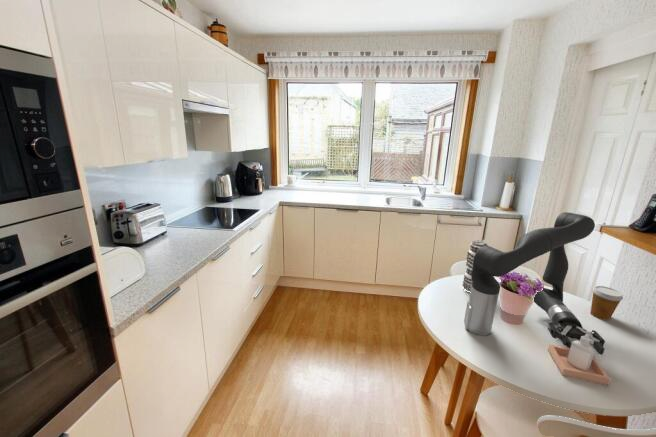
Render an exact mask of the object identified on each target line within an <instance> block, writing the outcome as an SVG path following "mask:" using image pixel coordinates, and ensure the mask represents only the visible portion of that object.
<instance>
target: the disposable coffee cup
mask: <svg viewBox="0 0 656 437" xmlns="http://www.w3.org/2000/svg"><path fill="white" fill-rule="evenodd" d="M623 299H624V297H623V293H622V292H621V291H619V290H617V289H614V288H612V287H609V286H604V285H595V286H594V288H592V298H591V306H590V315H591V316H593V317H594V318H597V319H600V320H603V321H611V318H612V316H613V314H614V313H615V311H616V309H617V308H618V306H619V304H620V302H621V301H622V300H623Z"/></svg>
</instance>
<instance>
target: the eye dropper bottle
mask: <svg viewBox="0 0 656 437" xmlns="http://www.w3.org/2000/svg"><path fill="white" fill-rule="evenodd" d="M590 342H592V340H591V339H590V338H589V335H588V334H585V336H581V338H580V340H573V341H571V343H572V344H571V348H570V351H569V354H568V357H567V361H568V362H569V363H570V364H571V365H573V366H574V367H576V368H578V369H580V370H583V371H587V370H589V368H590V365H591V362H592V359H593V357H594V354H595V351H596V350H595V349H594V347H593V346H592V345H590Z"/></svg>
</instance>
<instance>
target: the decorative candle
mask: <svg viewBox="0 0 656 437" xmlns="http://www.w3.org/2000/svg"><path fill="white" fill-rule="evenodd" d="M482 246H489V245H488V243H487V242H486V241H483V240H474V241H472V242H470V247H469V250H468V251H467V254H466V262H465V263H466V264H465V267H466V269H465V272H464V275H463V276H464V277H463V281H462V287H464V289H466V290H467V291H470V292H471V288H472V278H471V276H472V268H473V260H474V256H475V254H476V252H477V250H478V249H479V248H480V247H482Z"/></svg>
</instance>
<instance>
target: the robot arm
mask: <svg viewBox="0 0 656 437" xmlns="http://www.w3.org/2000/svg"><path fill="white" fill-rule="evenodd" d="M595 227H596V223H595V221H594V219H593V218H591V217H590V216H587V215H584V214H580V213H573V212H568V211H566V212H565V211H564V212H561V213H560V214H559V215H557V217H556V219H555V222H554V224H553V227H544V228H543V227H542V228H538V229H534V230H532V231H530V232H527V233H525V234H522V235H521V236H520V237H519V238H518V240H517V242H516V243H517V244H516V246H515V248H514V249H513V250H512V249H511V250H509V251H505V252H504V251H501V250H499V249H497V248H494V247H492V246H490V245H488V246H482V247H480V248H479V249H478V250H477V252H476V254H475V256H474V260H473V268H472V276H471V278H472V288H471V293H469V300H467V302H466V309H465V312H464V318H463V319H464V320H463V322H464V323H463V324H464V328H465V330H466V331H470V332H471V333H472V334H476V335H479V336H488V335H490V334H491V332H492V328H493V324H494V318H495V314H496V310H497V309H496V308H497V304H498V301H499V297H500V291H501V284H500V283H499V281H498V279H496V278H495V277H497V278H500V277H503V276H506V275H507V274H509V273H511V272H513V271H514V270H515V269H517V268H518V267H520V266H522V265H524V264H526V263H527V262H529V261H531V260H533V259H534V260H535V258H539V257H541V256H542V255H545V254H547V253H549V257H548V260H547V264H546V267H545V269H544V271H543V272H544V273H543V275H542V281H543V282H545V283H546V284H549V285H550V286H551V287H552V288H551V289H550V288H545V287H543V290H542V291H540V292H537V294H536V295H535V297H534V301H533V302H534V303H535V304H536V305H537V307H539V308H540V309H542V310H543V311H544V312H545V313H546V314H547V317H548V318H549V320H550V321H549V322H548V327H547V331H549V333H550V336H551V338H553V339H558V340H559V341H561V342H562V344H563V345H564V346H566V348H571V344H572V341H571V339H572V340H576V341H580V338H581V336H585V334H588V335H589V338H590V339H591V342H590V345H589V346H591V347H592V348H593V349H594V351H596V353H597V354H598V355H603V354H604V352H605V347H604V346H605V343H606V339H604V338H603V336H601V335H600V334H599V333H598V332H597V331H596V330H591V331H587V330H586V329H585V328H583V324H582V323H581V322H580V320H579V319H578V318H577V317H576V315H575V314H574V313H573V312H572V310H570V309H569V308H568V307H567V305H566V304H565V303H564V302H563V301H564V283H565V280H566V277H567V275H568V271H569V261H568V256H567V254H566V253H567V252H566V249H565V248H566V247H565V245H568V244H571V243H573V242H574V243H575V242H576V241H580V240H583V239H585V238H587V237H589V236H590V235H591V234H592V233H593V231H594V230H595ZM592 341H593V342H592Z"/></svg>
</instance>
